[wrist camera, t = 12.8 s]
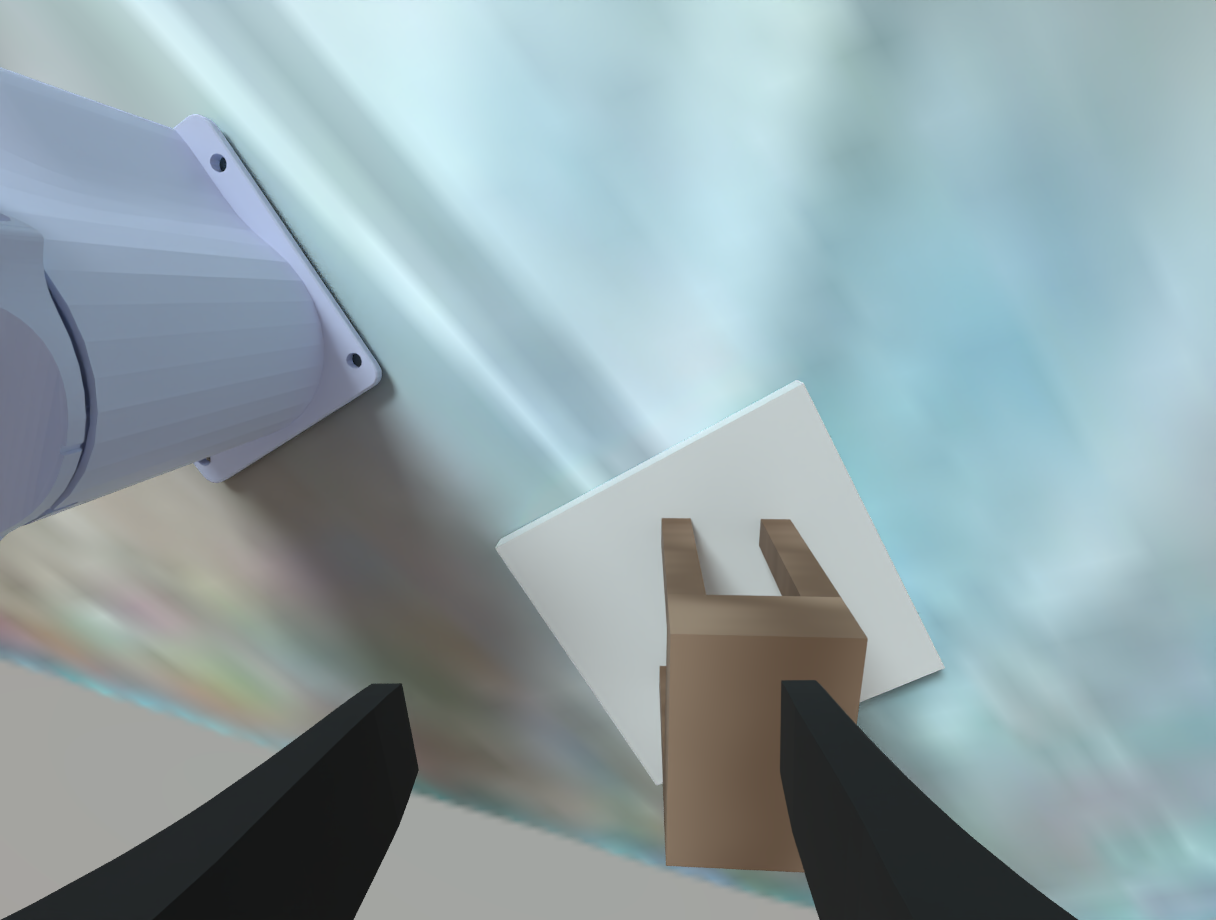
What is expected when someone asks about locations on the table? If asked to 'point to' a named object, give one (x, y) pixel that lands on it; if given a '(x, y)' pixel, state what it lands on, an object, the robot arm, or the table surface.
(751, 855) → the brown forked block
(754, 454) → the mat
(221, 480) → the robot arm
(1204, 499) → the table surface
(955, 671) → the table surface
